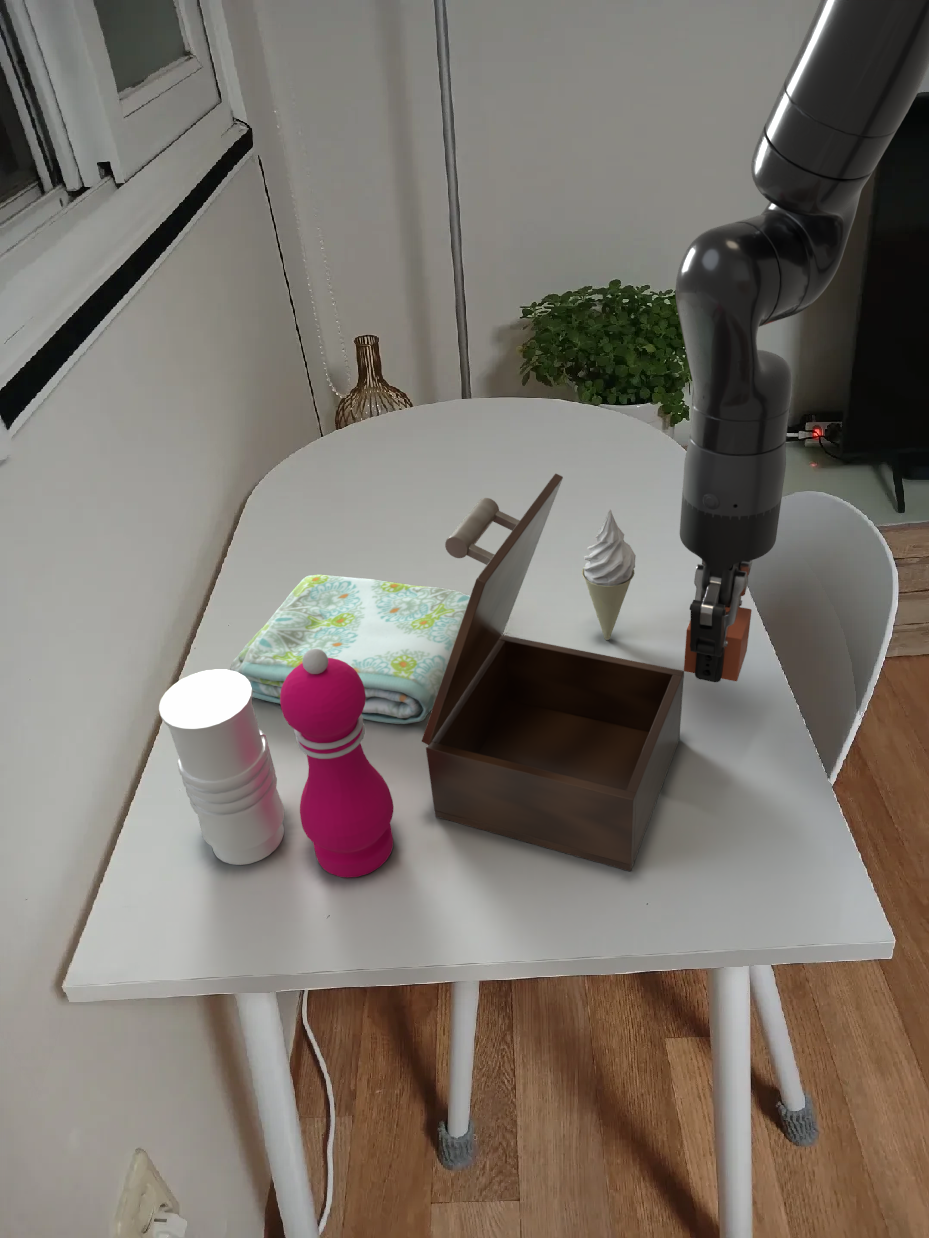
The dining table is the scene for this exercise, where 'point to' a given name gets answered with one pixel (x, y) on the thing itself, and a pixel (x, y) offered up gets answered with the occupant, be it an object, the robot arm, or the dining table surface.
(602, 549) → the ice cream cone
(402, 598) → the towel
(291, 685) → the pepper mill
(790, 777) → the dining table surface
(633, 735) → the chest
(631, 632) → the dining table surface
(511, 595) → the lid
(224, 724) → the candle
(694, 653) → the block
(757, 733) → the dining table surface
